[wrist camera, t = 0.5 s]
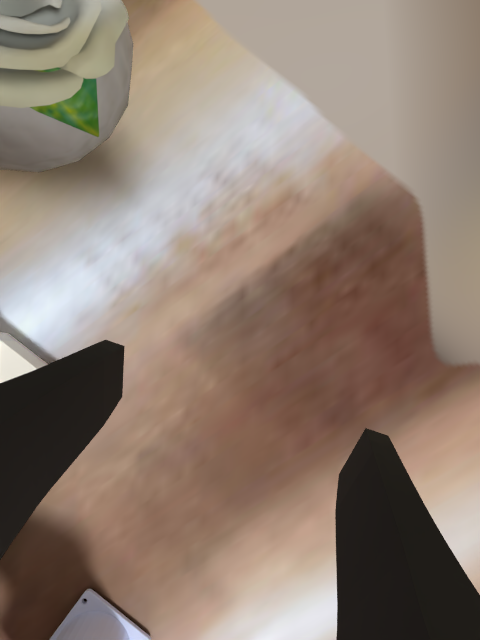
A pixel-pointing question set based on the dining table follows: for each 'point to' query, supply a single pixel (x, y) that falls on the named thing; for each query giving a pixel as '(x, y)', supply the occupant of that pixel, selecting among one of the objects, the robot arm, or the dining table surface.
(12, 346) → the tray
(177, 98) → the dining table surface
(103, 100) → the flower arrangement
